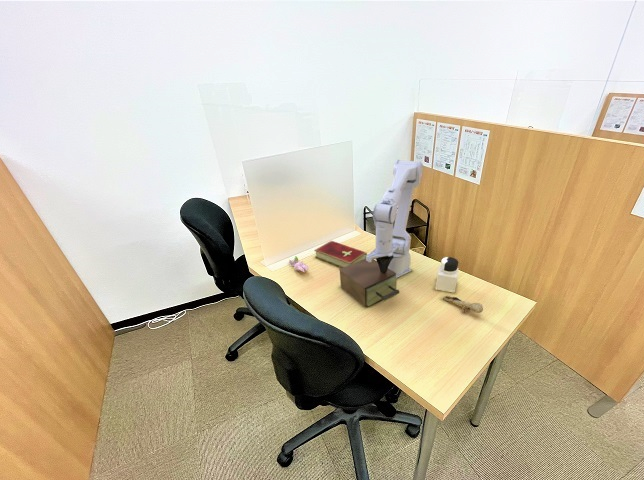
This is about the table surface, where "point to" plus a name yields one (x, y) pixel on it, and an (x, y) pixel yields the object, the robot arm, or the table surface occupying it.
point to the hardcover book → (339, 254)
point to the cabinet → (362, 278)
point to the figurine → (465, 304)
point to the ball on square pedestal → (447, 275)
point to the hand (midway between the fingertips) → (383, 271)
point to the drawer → (382, 291)
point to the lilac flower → (298, 265)
